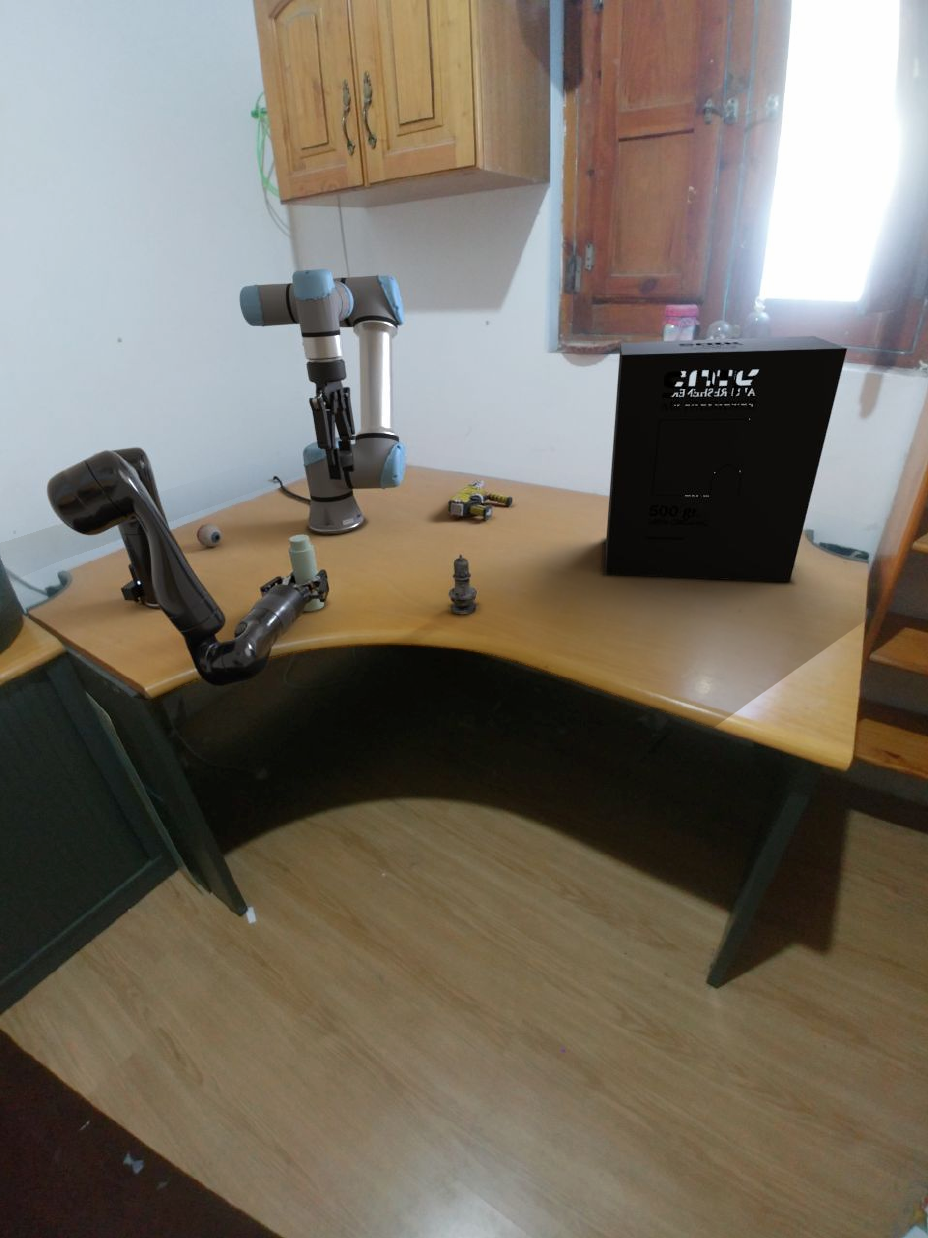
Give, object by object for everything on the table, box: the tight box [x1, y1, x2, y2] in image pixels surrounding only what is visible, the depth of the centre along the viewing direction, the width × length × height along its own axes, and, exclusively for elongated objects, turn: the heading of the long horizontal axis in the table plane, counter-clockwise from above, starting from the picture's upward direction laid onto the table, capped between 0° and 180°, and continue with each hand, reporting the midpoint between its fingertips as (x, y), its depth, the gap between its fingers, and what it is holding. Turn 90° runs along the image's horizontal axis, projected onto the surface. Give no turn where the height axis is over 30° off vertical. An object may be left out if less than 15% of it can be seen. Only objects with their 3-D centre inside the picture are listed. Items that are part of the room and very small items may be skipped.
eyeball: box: [196, 523, 223, 548], centre depth 159 cm, size 6×6×6 cm
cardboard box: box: [605, 335, 848, 583], centre depth 127 cm, size 38×20×45 cm, turn 78°
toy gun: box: [447, 479, 514, 521], centre depth 175 cm, size 5×24×15 cm
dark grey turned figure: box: [448, 554, 478, 615], centre depth 121 cm, size 6×6×12 cm
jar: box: [287, 534, 325, 612], centre depth 125 cm, size 5×5×16 cm
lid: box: [339, 450, 354, 467], centre depth 129 cm, size 5×5×2 cm
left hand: (311, 573), depth 127 cm, fingers closed on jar, 5 cm apart
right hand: (342, 474), depth 131 cm, fingers closed on lid, 5 cm apart
